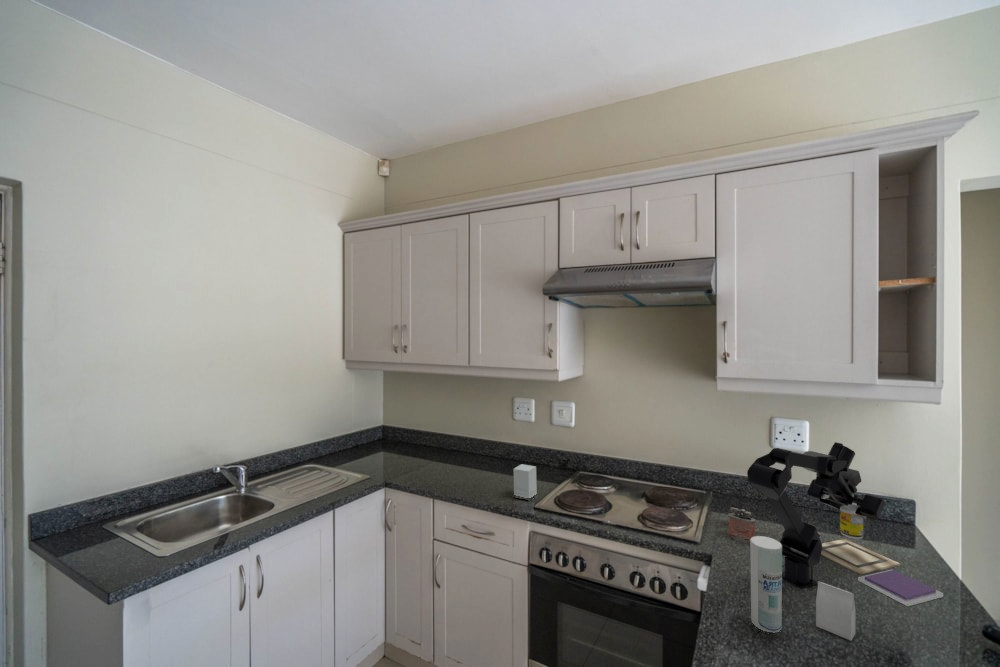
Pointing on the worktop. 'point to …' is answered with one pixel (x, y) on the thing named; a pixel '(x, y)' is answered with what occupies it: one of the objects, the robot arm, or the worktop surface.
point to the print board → (856, 557)
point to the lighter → (741, 525)
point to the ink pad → (900, 587)
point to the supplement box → (525, 481)
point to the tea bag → (835, 610)
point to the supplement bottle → (851, 522)
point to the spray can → (766, 583)
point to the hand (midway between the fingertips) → (854, 513)
